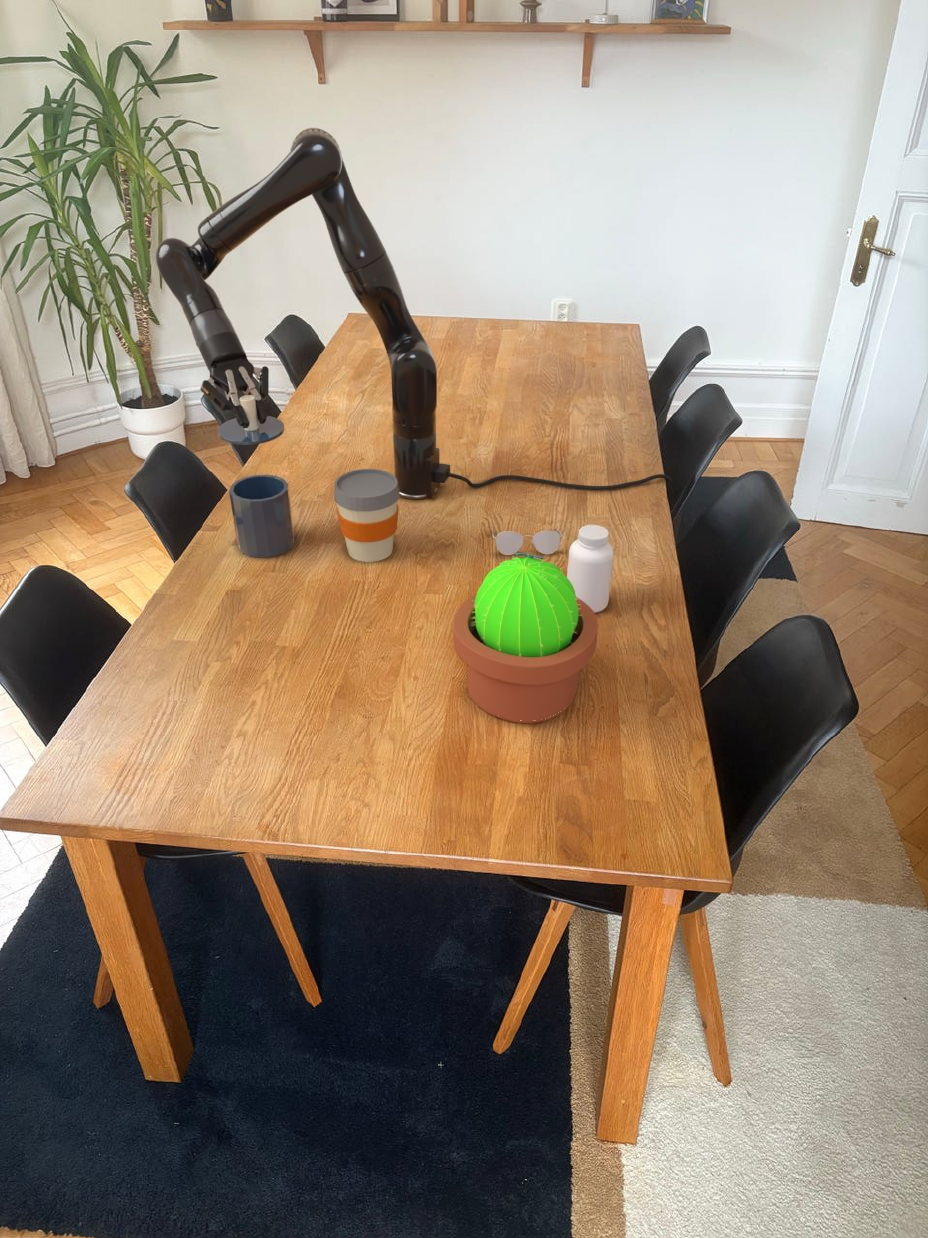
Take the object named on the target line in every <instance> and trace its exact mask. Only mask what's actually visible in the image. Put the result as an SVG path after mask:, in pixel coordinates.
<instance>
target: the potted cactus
mask: <svg viewBox="0 0 928 1238" xmlns="http://www.w3.org/2000/svg"><path fill="white" fill-rule="evenodd" d="M519 556H520V557H519ZM507 559H508V560H504V561H502V562H497V563H498V566H494V568H493V569H490V571H489V572H488V573H486V571H485V569H484V571H485V572H484V571H483V572H484V574H485V575H486V576H485V577H484V579H483V581H482V584H481V585H480V586H476V588H478V589H477V590H478V591H477V592H476V593H474V594H473V595H470V596H469V597H468V598H466V599H465V601H464V602H462V603H461V604H460V606H459V607H458V609H457V610H456V612H455V614H454V616H453V620H452V621H453V622H452V645H453V648H454V652H455V653H456V655H457V656H458V658H459V659H460V660H461V661H462V662H463V663H464V664H465V665H467V691H468V694H469V697H470V698H471V699H470V700H472V702H473V703H474V704H475V705H476V706H477V707H478V708H480V709H481V711H484V713H485V712H486V714H489V715H490V716H492V717H495V718H498V719H501V720H504V721H507V722H512V723H518V724H536V723H537V724H538V723H542V722H546V721H548V720H551V719H553V718H555V717H557V716H559V715H560V714H563V712H564V711H566V710H567V709H568V707H570V705H571V704H572V702H573V700H574V699H575V696H576V693H577V689H578V678H579V672H580V671H581V670H582V669H583V668H584V667H586V665H587V664H588V663H590V661H591V659H592V658H593V656H594V654H595V651H596V648H597V641H598V631H599V621H598V617H597V615H596V613H594V612H593V610H592V609H591V608H590V607H589V606H588V605H587V604H586V603H585V602H583V601H582V600H581V599H579V598H577V597H576V594H575V590H576V589H575V590H574V588H573V586H572V584H571V582H570V581H571V580H570V581H569V579H568V578H567V575H565V574H564V571H563V570H562V568H559V567H558V566H557V563H556V561H555V560H553V561H552V563H551V562H547V561H545V560H546V558H545V557H543V556H539V555H534V554H528V553H520V552H516V553H513V554H512V558H511V559H510V557H507ZM554 562H555V563H554ZM572 580H573V579H572ZM573 581H574V580H573ZM572 583H573V582H572ZM564 708H565V709H564ZM560 711H561V712H560ZM558 712H559V713H558ZM555 714H556V715H555ZM498 715H499V716H498ZM553 715H554V716H553ZM550 716H551V717H550ZM548 717H549V718H548ZM545 718H546V719H545ZM541 719H542V720H541ZM520 720H522V721H520ZM533 720H536V721H533Z"/></svg>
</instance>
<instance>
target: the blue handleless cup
mask: <svg viewBox="0 0 928 1238" xmlns="http://www.w3.org/2000/svg"><path fill="white" fill-rule="evenodd" d="M228 492H229V493H228V494H229V500H230V505H231V513H232V519H233V524H234V525H233V526H234V531H235V539H236V544H237V547H238V549H239V551H240V553H242V554H243V555H245V556H248V557H251V558H259V559H263V558H264V559H265V558H272V557H277V556H280V555H283V554H285V553H287V552H288V551H290V550H291V549H292V548H293V547H294V545H295V531H294V522H293V515H292V514H293V513H292V505H291V495H290V488H289V483H288V482H287V481H286V480H285V479H284V478H282V477H280V476H277V475H273V474H253V475H249V476H245V477H242V478H239V479H237V480H236V481H234V482H233V483H232V484H231V485H230V486H229V491H228Z"/></svg>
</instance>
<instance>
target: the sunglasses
mask: <svg viewBox="0 0 928 1238" xmlns="http://www.w3.org/2000/svg"><path fill="white" fill-rule="evenodd" d="M491 532H492V539H495V546H496V549H497V550H498V552H499V553H500V554H502V555H504V556H513V555H514V554H513V553H518V551H520V549H521V548H522V547H523V545H524V543H525V540H524V538H525V537H531V538H532V539H531V540H530V542H531V544H532V546H533V547H534V548H535V550H537V551H538V552H539V553H541V554H543V555H552V554H553V553H555V552H556V551H557V550H558V549H559V546H560V544H561V538H563V537H564V535H563V534H562V532H561V531H560V529H559V528H558V527H556V528H555V529H554V530H541V531H538V532H536V533H535V534H534V535H529V534H527V535H526V534H525V535H524V536H523V535H522V534H521V533H520V532H517V531H509V530H508V531H507V530H505V531H501V532H499V533H498V534H497V535H496V536H495V535H494V530H493V528H491Z"/></svg>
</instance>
